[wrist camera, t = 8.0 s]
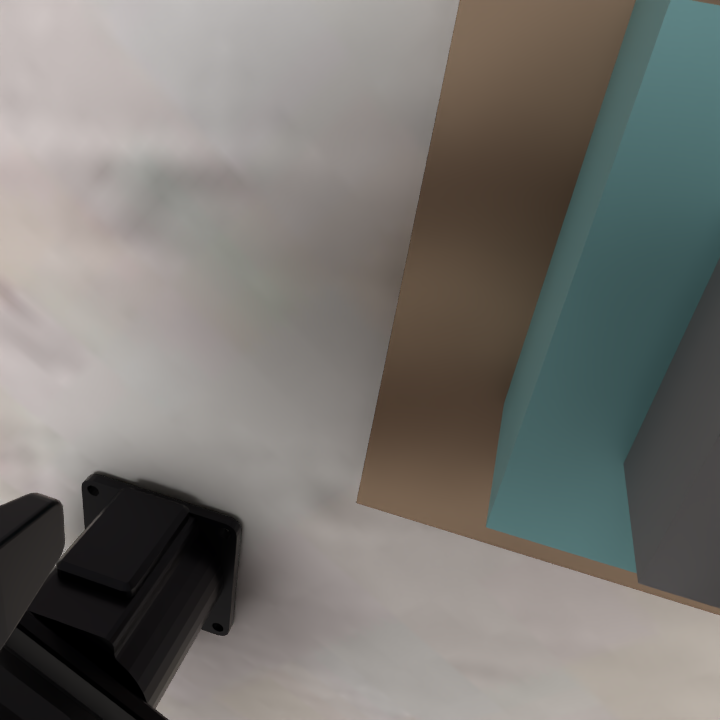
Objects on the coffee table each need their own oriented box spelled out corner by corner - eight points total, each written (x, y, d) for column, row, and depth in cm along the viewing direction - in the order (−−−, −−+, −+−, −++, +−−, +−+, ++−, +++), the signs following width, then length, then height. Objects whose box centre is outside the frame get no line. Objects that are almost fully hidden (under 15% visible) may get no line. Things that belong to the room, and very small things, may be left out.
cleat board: (766, 594, 21) (799, 694, 18) (367, 474, 23) (338, 546, 20) (1355, -245, 11) (1657, -334, 8) (539, -337, 13) (531, -436, 10)
